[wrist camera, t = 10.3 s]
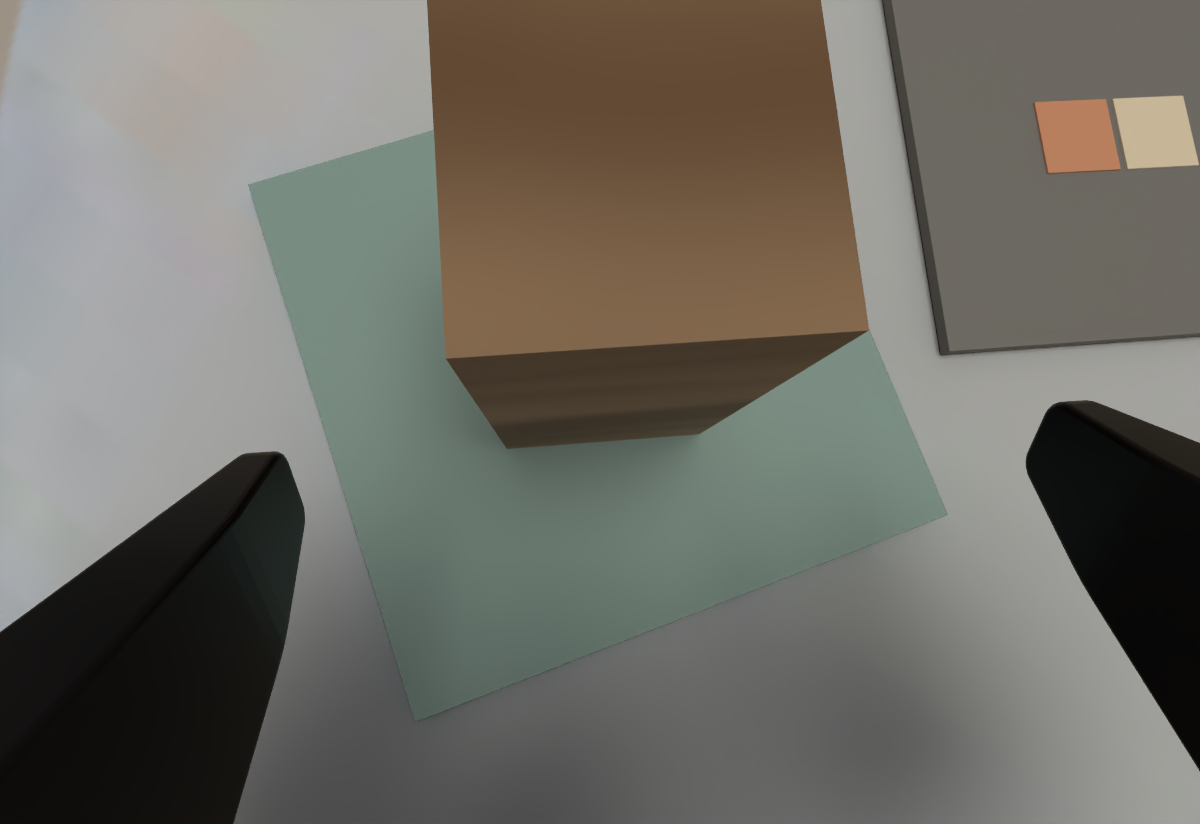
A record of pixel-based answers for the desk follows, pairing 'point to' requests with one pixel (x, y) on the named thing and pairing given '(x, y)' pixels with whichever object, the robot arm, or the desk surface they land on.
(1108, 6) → the tile
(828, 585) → the desk surface
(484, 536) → the teal pad
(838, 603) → the desk surface
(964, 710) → the desk surface
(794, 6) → the walnut block
